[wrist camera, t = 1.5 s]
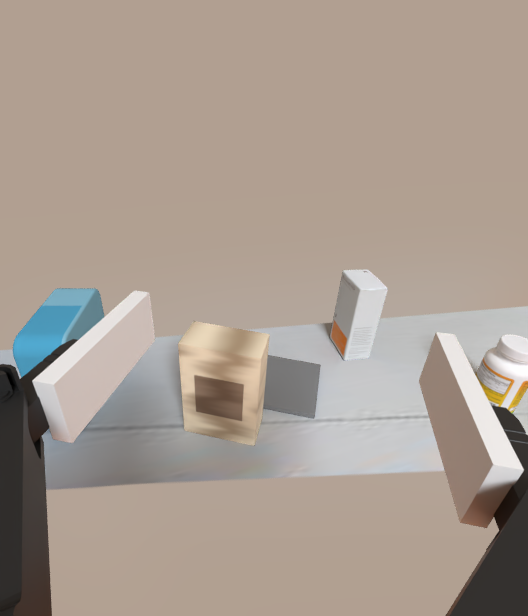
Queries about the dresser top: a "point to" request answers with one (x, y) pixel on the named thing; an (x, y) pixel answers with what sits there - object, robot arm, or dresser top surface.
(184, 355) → the maple block
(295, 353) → the dresser top surface
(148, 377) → the dresser top surface
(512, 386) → the supplement bottle
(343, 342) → the skincare box
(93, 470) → the dresser top surface
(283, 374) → the charcoal mat
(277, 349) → the dresser top surface
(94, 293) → the data package
